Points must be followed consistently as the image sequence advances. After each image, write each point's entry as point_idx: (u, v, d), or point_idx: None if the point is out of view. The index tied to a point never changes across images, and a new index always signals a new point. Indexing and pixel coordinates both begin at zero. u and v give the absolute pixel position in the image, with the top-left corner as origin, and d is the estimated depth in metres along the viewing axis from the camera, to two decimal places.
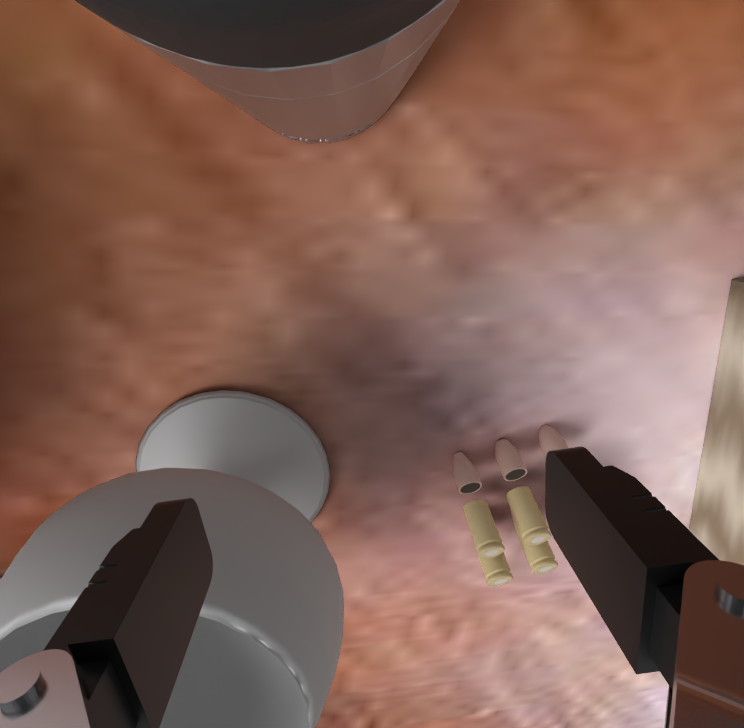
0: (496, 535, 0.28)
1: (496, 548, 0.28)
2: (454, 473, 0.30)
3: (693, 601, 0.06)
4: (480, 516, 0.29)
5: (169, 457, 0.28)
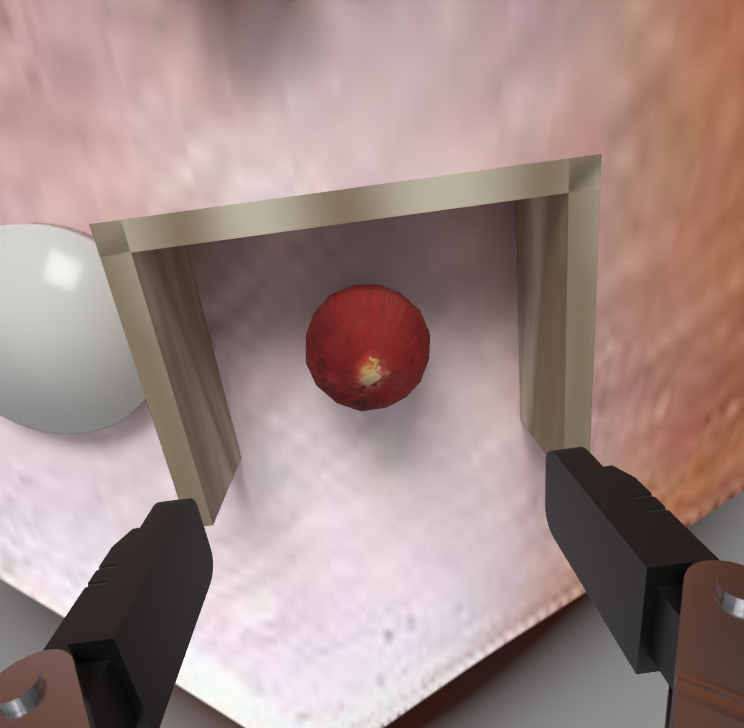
0: None
1: None
2: None
3: (693, 601, 0.06)
4: None
5: None
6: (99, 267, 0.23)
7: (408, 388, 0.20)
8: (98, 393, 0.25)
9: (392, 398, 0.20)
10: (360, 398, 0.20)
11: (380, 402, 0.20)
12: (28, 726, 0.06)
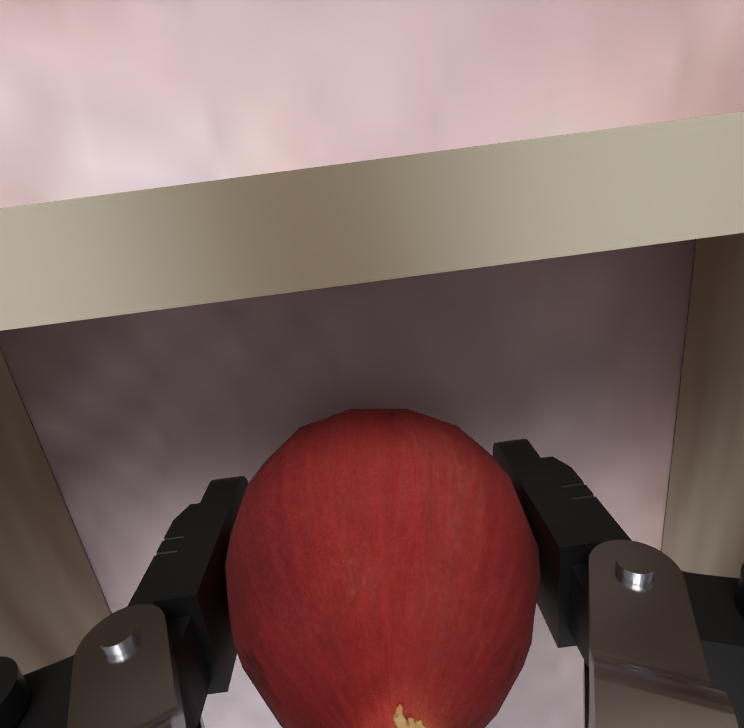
0: None
1: None
2: None
3: (593, 575, 0.07)
4: None
5: None
6: None
7: None
8: None
9: None
10: None
11: None
12: (123, 673, 0.06)
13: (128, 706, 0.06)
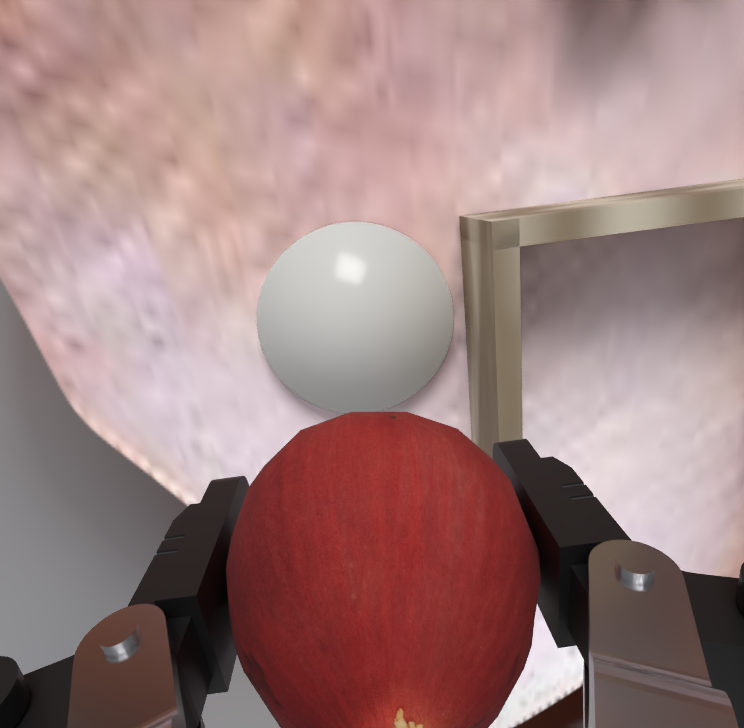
0: None
1: None
2: None
3: (592, 575, 0.07)
4: None
5: None
6: (416, 261, 0.25)
7: None
8: (389, 376, 0.27)
9: None
10: None
11: None
12: (123, 672, 0.06)
13: (128, 706, 0.06)
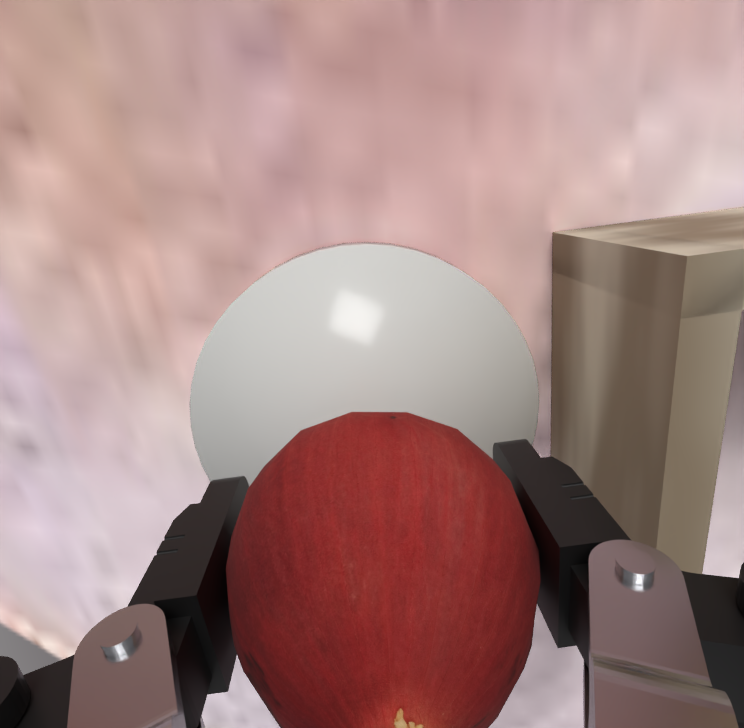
0: None
1: None
2: None
3: (593, 575, 0.07)
4: None
5: None
6: (477, 315, 0.14)
7: None
8: None
9: None
10: None
11: None
12: (124, 672, 0.06)
13: (128, 706, 0.06)
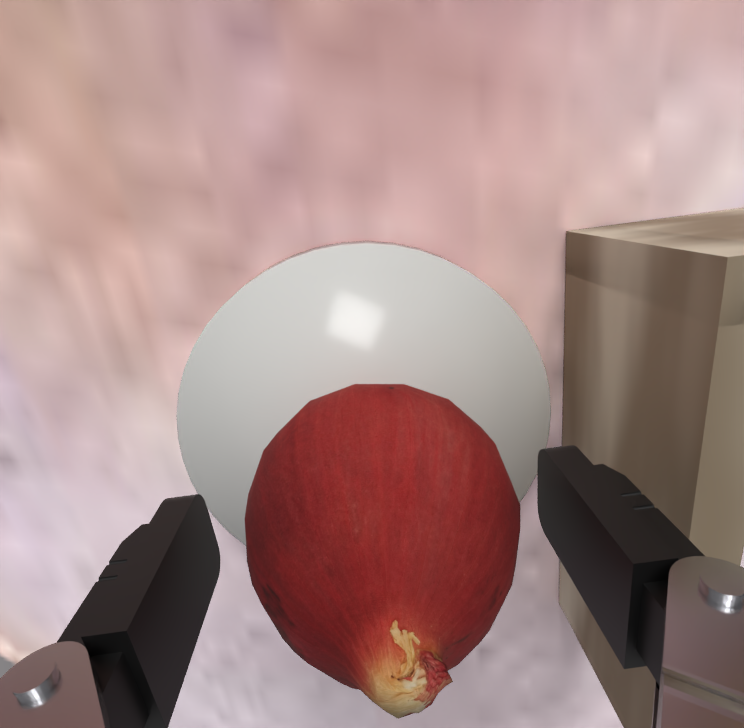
0: None
1: None
2: None
3: (677, 596, 0.06)
4: None
5: None
6: (486, 320, 0.13)
7: None
8: None
9: None
10: None
11: None
12: (43, 716, 0.06)
13: None
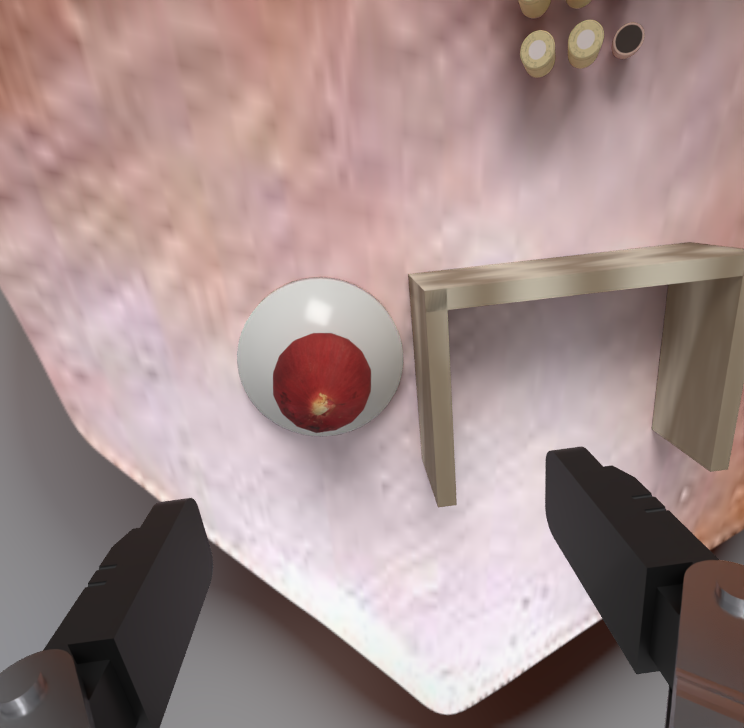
0: None
1: None
2: None
3: (693, 601, 0.06)
4: None
5: None
6: (371, 311, 0.30)
7: (352, 416, 0.26)
8: None
9: (339, 424, 0.26)
10: (313, 424, 0.25)
11: (330, 427, 0.26)
12: (28, 726, 0.06)
13: None
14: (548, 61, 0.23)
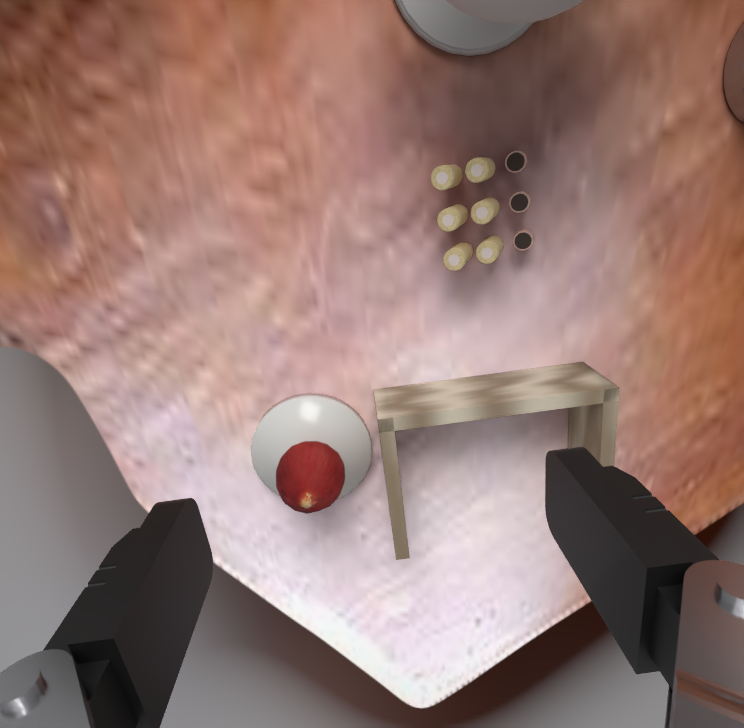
0: (487, 176, 0.33)
1: (485, 173, 0.32)
2: (521, 151, 0.35)
3: (693, 601, 0.06)
4: (492, 167, 0.34)
5: None
6: (346, 418, 0.42)
7: (330, 503, 0.38)
8: None
9: (321, 509, 0.38)
10: (303, 510, 0.37)
11: (315, 511, 0.38)
12: (28, 726, 0.06)
13: None
14: (461, 267, 0.35)
